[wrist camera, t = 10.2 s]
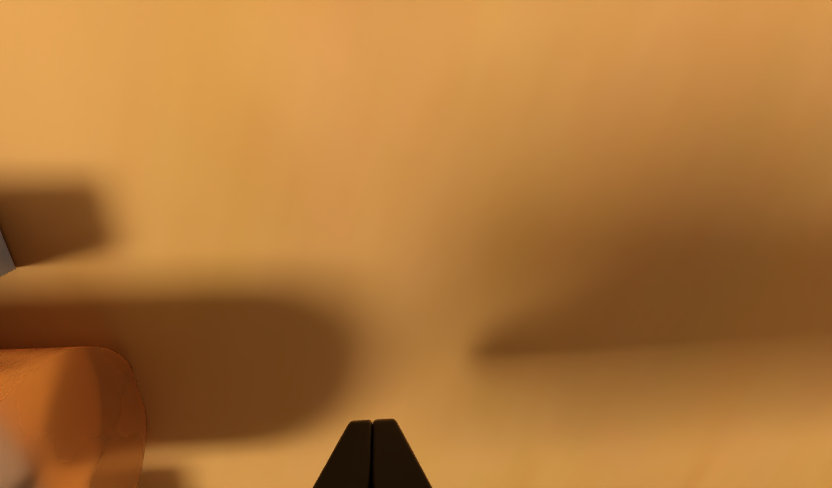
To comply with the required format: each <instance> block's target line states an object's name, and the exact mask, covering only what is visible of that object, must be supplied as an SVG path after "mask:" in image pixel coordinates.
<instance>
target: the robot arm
mask: <svg viewBox="0 0 832 488" xmlns="http://www.w3.org/2000/svg"><path fill="white" fill-rule="evenodd" d="M313 488H432V486H431V485H430V483H429V481H428V479H427V477H426V475H425V473H424V472H423V470H422V468H421V466H420V464H419V462H418V460H417V458H416V457H415V455H414V453H413V451H412V449H411V447H410V445H409V444H408V442H407V440H406V438H405V436H404V434H403V432H402V431H401V429H400V427H399V425H398V423H397V422H396V420H394V419H377V420H375V421H374V422H373V424H372V421H370V420H358V421H351V422H350V423H349V424H348V426H347V427H346V429H345V431H344V433H343V434H342V436H341V438H340V440H339V442H338V443H337V445H336V447H335V449H334V451H333V452H332V454H331V456H330V458H329V460H328V461H327V463H326V465H325V467H324V468H323V470H322V472H321V474H320V476H319V477H318V479H317V481H316V483H315V485H314V486H313Z"/></svg>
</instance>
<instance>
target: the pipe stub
mask: <svg viewBox="0 0 832 488" xmlns="http://www.w3.org/2000/svg"><path fill="white" fill-rule="evenodd" d="M145 442H146V412H145V409H144V406H143V402H142V399H141V396H140V393H139V390H138V387H137V383H136V380H135V377H134V374H133V371H132V368H131V366H130V364H129V363H128V362H127V361H126V360H125V359H124V358H123V357H122V356H121V355H119V354H118V353H116V352H115V351H112V350H110V349H108V348H104V347H99V346H80V347H54V348H28V349H2V350H0V488H137V485H138V482H139V477H140V473H141V469H142V463H143V458H144V451H145Z"/></svg>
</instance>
